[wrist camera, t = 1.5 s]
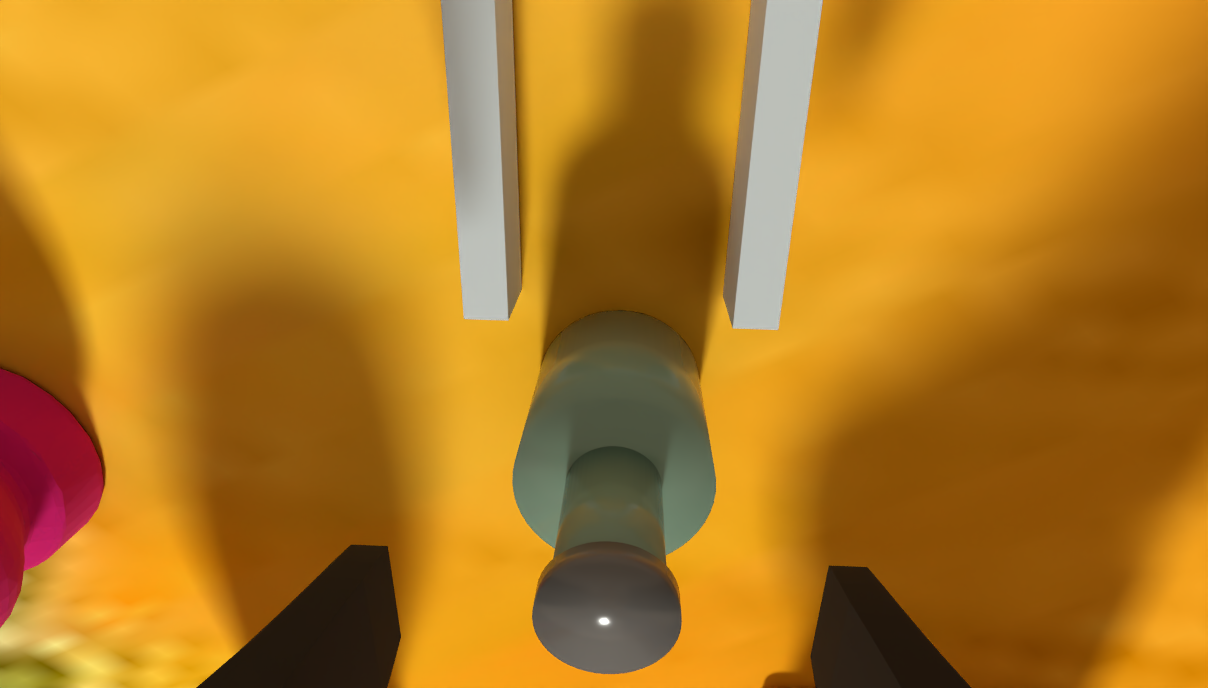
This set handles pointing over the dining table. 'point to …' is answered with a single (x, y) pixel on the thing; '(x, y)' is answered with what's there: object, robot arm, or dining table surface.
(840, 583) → the robot arm
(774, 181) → the rest
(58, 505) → the pepper mill
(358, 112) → the dining table surface
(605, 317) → the bottle
